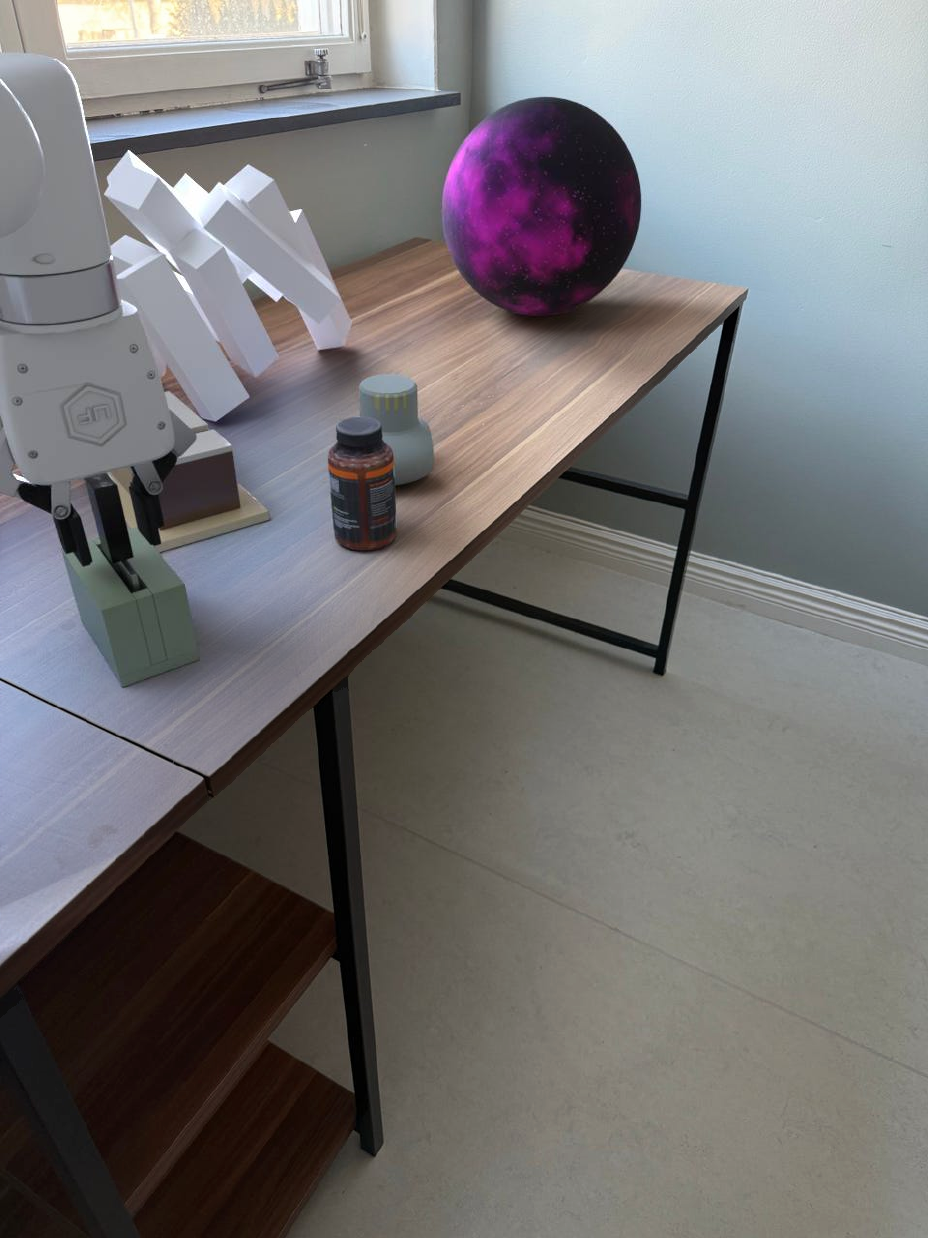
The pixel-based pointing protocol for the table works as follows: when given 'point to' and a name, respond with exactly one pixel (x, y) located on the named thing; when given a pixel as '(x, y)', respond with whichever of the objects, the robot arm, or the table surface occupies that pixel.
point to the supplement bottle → (362, 485)
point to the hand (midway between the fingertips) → (116, 545)
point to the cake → (197, 489)
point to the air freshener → (399, 423)
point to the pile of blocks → (217, 276)
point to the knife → (112, 527)
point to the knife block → (134, 612)
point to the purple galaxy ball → (541, 206)
